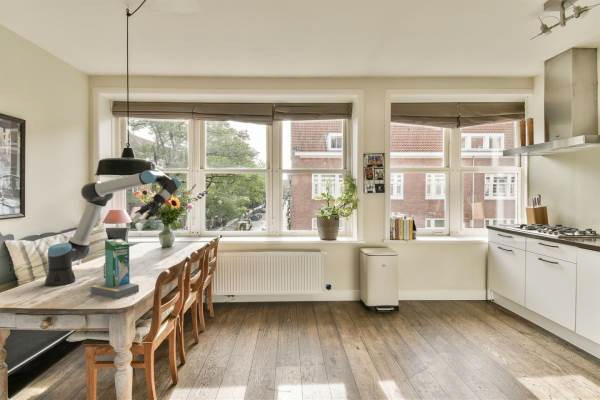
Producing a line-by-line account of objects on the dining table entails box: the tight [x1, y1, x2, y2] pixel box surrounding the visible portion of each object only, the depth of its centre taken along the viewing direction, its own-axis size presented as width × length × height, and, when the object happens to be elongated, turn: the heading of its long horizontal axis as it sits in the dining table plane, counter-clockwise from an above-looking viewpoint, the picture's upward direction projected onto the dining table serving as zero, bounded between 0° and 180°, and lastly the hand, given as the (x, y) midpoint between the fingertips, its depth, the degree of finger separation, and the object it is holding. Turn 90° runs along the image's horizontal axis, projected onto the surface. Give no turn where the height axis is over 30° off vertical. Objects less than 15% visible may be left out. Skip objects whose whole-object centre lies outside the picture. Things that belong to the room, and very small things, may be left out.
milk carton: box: [104, 238, 130, 287], centre depth 188 cm, size 9×9×25 cm
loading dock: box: [90, 282, 140, 300], centre depth 184 cm, size 20×14×4 cm
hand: (136, 222), depth 199 cm, fingers open, 13 cm apart
